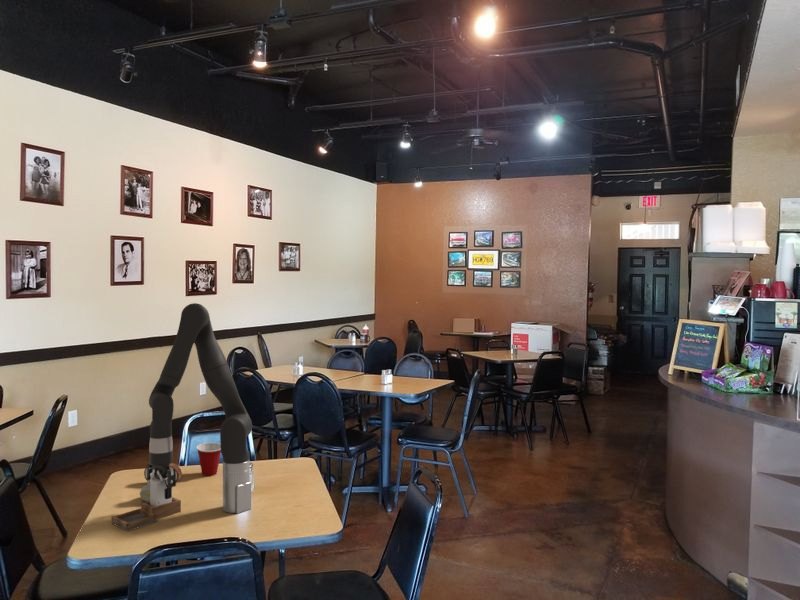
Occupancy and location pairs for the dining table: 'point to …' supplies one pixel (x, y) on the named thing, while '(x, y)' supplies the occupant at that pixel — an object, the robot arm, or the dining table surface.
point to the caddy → (146, 514)
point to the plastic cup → (209, 458)
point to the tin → (172, 466)
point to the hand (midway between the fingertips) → (161, 495)
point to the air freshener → (146, 491)
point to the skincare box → (158, 493)
